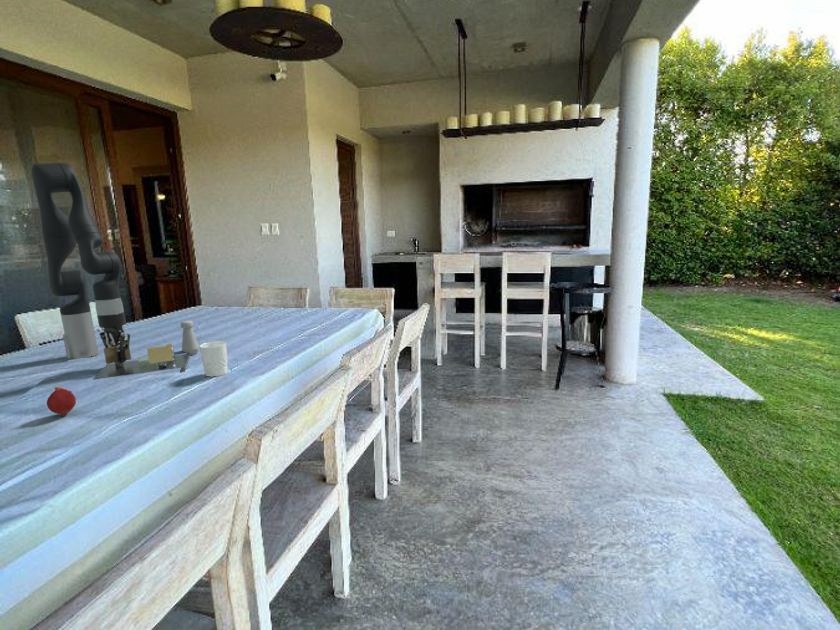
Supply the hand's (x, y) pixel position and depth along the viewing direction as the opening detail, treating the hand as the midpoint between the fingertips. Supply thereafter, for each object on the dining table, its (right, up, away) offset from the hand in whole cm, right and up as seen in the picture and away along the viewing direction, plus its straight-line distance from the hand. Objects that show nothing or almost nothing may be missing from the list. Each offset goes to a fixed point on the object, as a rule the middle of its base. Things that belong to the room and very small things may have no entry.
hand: (119, 361), depth 152 cm
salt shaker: (+15, 0, +18) cm, 24 cm away
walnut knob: (0, -2, 0) cm, 2 cm away
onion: (+10, -11, -36) cm, 39 cm away
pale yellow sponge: (+16, -2, -2) cm, 16 cm away
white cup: (+36, -4, -6) cm, 37 cm away
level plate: (+9, -3, +1) cm, 9 cm away
